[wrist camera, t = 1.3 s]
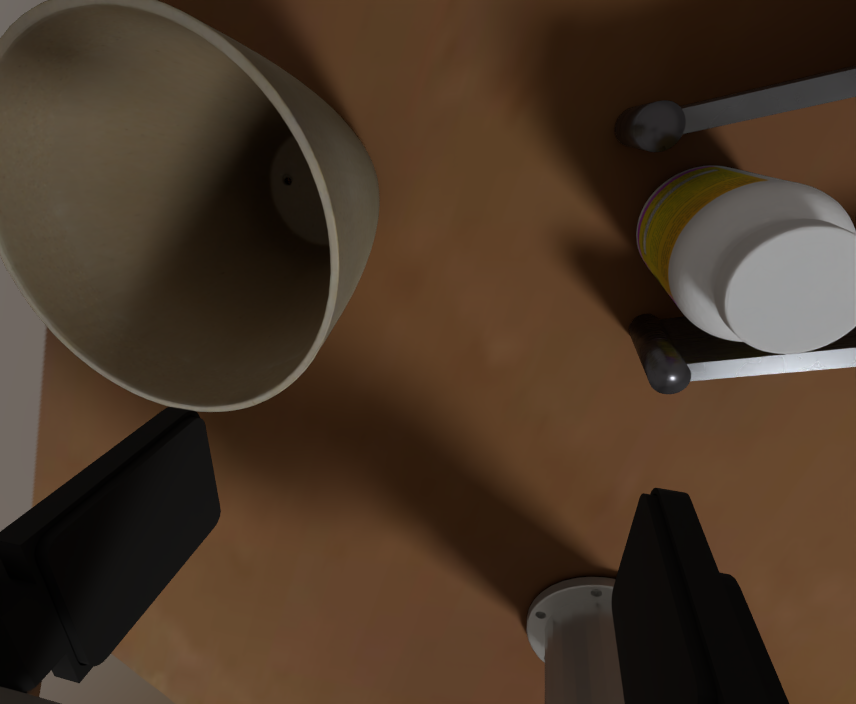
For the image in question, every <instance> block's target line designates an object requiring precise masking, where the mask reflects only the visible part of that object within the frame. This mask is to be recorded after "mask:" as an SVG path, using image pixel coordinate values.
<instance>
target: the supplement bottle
mask: <svg viewBox="0 0 856 704" xmlns="http://www.w3.org/2000/svg"><path fill="white" fill-rule="evenodd" d="M636 239H637V246H638V250H639V253H640V255H641V257H642V259H643V261H644V262H645V264H646V266H647V267H648V268H649V270H650V271H651V272H652V273H653V275H654V276H655V277H656V279H657V280H658V281H659V283H660V284H661V285H662V287H663V288H664V289H665V290H666V292H667V293H668V294H669V296H670V297H671V298H672V300H673V301H674V302H675V304H676V305H677V306H678V308H679V309H680V310H681V312H682V313H683V314H684V315H685V316H686V317H687V318H688V320H690V321H691V322H692V323H693V324H694V325H696V326H697V327H698V328H700V329H702V330H703V331H705V332H707V333H709V334H711V335H713V336H716V337H719V338H722V339H726V340H731V341H739V342H745V343H746V344H748V345H750V346H752V347H754V348H756V349H759V350H762V351H766V352H771V353H777V354H793V353H802V352H807V351H811V350H814V349H818V348H821V347H823V346H826V345H828V344H830V343H832V342H834V341H836V340H838V339H839V338H841V337H842V336H844V335H846V334H847V333H848V332H849V331H851V330H852V329H853V328H854V327H855V326H856V230H855V228H854V225H853V223H852V221H851V219H850V217H849V215H848V214H847V212H846V211H845V210H844V208H843V207H842V206H841V205H840V204H839V203H838V202H837V201H836V200H834V199H833V198H832V197H830V196H829V195H827V194H826V193H824V192H822V191H820V190H818V189H816V188H814V187H811V186H808V185H804V184H800V183H795V182H791V181H786V180H781V179H777V178H772V177H768V176H764V175H759V174H755V173H751V172H747V171H743V170H738V169H734V168H729V167H724V166H701V167H695V168H692V169H688V170H686V171H683V172H681V173H678V174H676V175H675V176H673V177H671V178H670V179H668V180H667V181H665V182H664V183H663V184H662V185H661V186H659V187H658V188H657V189H656V190H655V191H654V192H653V194H652V195H651V196H650V197H649V199H648V200H647V202H646V203H645V205H644V207H643V209H642V211H641V214H640V216H639V219H638V224H637V230H636Z"/></svg>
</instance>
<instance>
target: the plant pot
mask: <svg viewBox="0 0 856 704" xmlns="http://www.w3.org/2000/svg"><path fill="white" fill-rule="evenodd" d="M286 177H289V178H290V179H291V181H292V182H291V184H289V185H288V184H287V183H285V181H284V180H285V178H286ZM378 216H379V186H378V180H377V175H376V172H375V169H374V166H373V163H372V161H371V159H370V157H369V155H368V153H367V151H366V149H365V148H364V146H363V144H362V143H361V141H360V140H359V138H358V137H357V136H356V134H355V133H354V132H353V130H352V129H351V128H350V127H349V126H348V124H347V123H346V122H345V121H344V120H343V119H342V118H341V117H340V116H339V115H338V114H337V113H336V111H335V110H334V109H333V108H332V107H330V106H329V105H328V104H327V103H326V102H325V101H324V100H323V99H322V98H320V97H319V96H318V95H317V94H316V93H314V92H313V91H312V90H311V89H309V88H308V87H307V86H305V85H304V84H303V83H302V82H300V81H299V80H298V79H296V78H295V77H293V76H292V75H290V74H289V73H287V72H286V71H285V70H283V69H282V68H280V67H279V66H277V65H276V64H274V63H273V62H271V61H269V60H268V59H266V58H265V57H263V56H261V55H260V54H258V53H256V52H254V51H253V50H251V49H249V48H248V47H246V46H244V45H242V44H241V43H239V42H237V41H236V40H234V39H232V38H230V37H229V36H227V35H225V34H223V33H221V32H219V31H218V30H216V29H214V28H212V27H210V26H209V25H207V24H205V23H203V22H201V21H199V20H198V19H196V18H194V17H192V16H190V15H188V14H187V13H185V12H183V11H181V10H179V9H176V8H174V7H172V6H170V5H168V4H166V3H163V2H160V1H158V0H48V1H45V2H43V3H41V4H39V5H37V6H36V7H34V8H32V9H31V10H29V11H28V12H26V13H25V14H23V15H22V16H21V17H20V18H19V19H18V20H16V21H15V22H14V23H13V24H12V25H11V26H10V27H9V28H8V30H7V31H6V32H5V33H4V35H3V36H2V37H1V38H0V256H1V259H2V261H3V263H4V265H5V267H6V269H7V271H8V272H9V274H10V276H11V277H12V279H13V281H14V282H15V284H16V285H17V287H18V289H19V290H20V292H21V294H22V295H23V297H24V298H25V299H26V301H27V302H28V304H29V305H30V306H31V307H32V309H33V310H34V312H35V313H36V314H37V315H38V316H39V318H40V319H41V320H42V321H43V323H44V324H45V325H46V326H47V327H48V328H49V329H50V331H51V332H52V333H53V334H54V335H55V336H56V337H57V338H58V339H59V340H60V341H61V342H62V343H63V344H64V345H65V346H66V347H67V348H68V349H70V350H71V351H72V352H73V353H74V354H75V355H76V356H77V357H79V358H80V359H81V360H82V361H84V362H85V363H86V364H87V365H89V366H90V367H91V368H93V369H94V370H95V371H97V372H98V373H100V374H101V375H103V376H104V377H106V378H107V379H109V380H110V381H112V382H114V383H115V384H117V385H119V386H121V387H122V388H124V389H126V390H128V391H130V392H132V393H134V394H136V395H138V396H141V397H143V398H145V399H148V400H151V401H154V402H156V403H159V404H162V405H165V406H170V407H176V408H182V409H188V410H193V411H201V412H222V411H232V410H238V409H243V408H247V407H250V406H254V405H257V404H259V403H261V402H263V401H266V400H268V399H270V398H271V397H273V396H275V395H277V394H278V393H280V392H282V391H283V390H284V389H286V388H287V387H288V386H289V385H291V384H292V383H293V382H294V381H295V380H296V379H297V378H298V377H299V376H300V375H301V374H302V373H303V372H304V371H305V370H306V369H307V367H308V366H309V365H310V363H311V362H312V361H313V359H314V358H315V356H316V354H317V353H318V351H319V349H320V348H321V346H322V345H323V343H324V342H325V340H326V338H327V337H328V335H329V334H330V332H331V330H332V329H333V327H334V325H335V324H336V322H337V321H338V319H339V317H340V316H341V314H342V312H343V311H344V309H345V307H346V305H347V303H348V302H349V300H350V298H351V296H352V294H353V292H354V290H355V288H356V286H357V284H358V282H359V280H360V277H361V275H362V273H363V270H364V268H365V265H366V263H367V260H368V257H369V254H370V252H371V248H372V244H373V241H374V237H375V233H376V228H377V223H378Z"/></svg>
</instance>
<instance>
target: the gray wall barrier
mask: <svg viewBox="0 0 856 704" xmlns="http://www.w3.org/2000/svg"><path fill="white" fill-rule="evenodd" d="M851 97H856V66H852V67H847V68H843V69H839V70H834V71H830V72H826V73H821V74H817V75H813V76H808V77H804V78H800V79H796V80H791V81H787V82H783V83H778V84H774V85H770V86H765V87H761V88H757V89H752V90H748V91H744V92H739V93H735V94H731V95H727V96H722V97H718V98H714V99H709V100H705V101H701V102H696V103H692V104H688V105H683V106H679V105H678V104H676V103H674V102H672V101H666V100H664V101H657V102H653V103H649V104H644V105H640V106H635V107H632V108H629V109H627V110H625V111H624V112H623V113H622V114H621V115H620V116H619V118H618V119H617V121H616V124H615V135H616V138H617V140H618V141H619V142H620V143H621V144H623V145H625V146H628V147H633V148H637V149H641V150H646V151H650V152H661V151H665V150H667V149H669V148H671V147H672V146H674V145H675V144H676V143H677V142H678V141H679V139H680V138H681V136H682V135H683V134H685V133H690V132H694V131H699V130H704V129H708V128H713V127H717V126H722V125H727V124H731V123H736V122H740V121H745V120H750V119H754V118H759V117H764V116H768V115H773V114H777V113H782V112H787V111H791V110H796V109H800V108H805V107H810V106H814V105H819V104H823V103H828V102H833V101H837V100H842V99H846V98H851ZM629 334H630V336H631V339H632V341H633V344H634V346H635V348H636V351H637V353H638V356H639V358H640V361H641V363H642V366H643V368H644V371H645V373H646V375H647V378H648V380H649V383H650V385H651V386H652V388H653V389H654V390H656V391H657V392H659V393H662V394H674V393H677V392H680V391H682V390H683V389H684V388H686V387H687V385H688V384H689V382H690V381H697V380H708V379H720V378H731V377H743V376H754V375H765V374H777V373H788V372H799V371H811V370H822V369H833V368H845V367H856V326H855V327H854V328H853V329H852V330H851V331H849V332H848V333H847V334H846V335H844V336H842V337H841V338H839V339H838V340H836V341H834V342H832V343H830V344H828V345H826V346H823V347H821V348H818V349H814V350H811V351H807V352H802V353H793V354H777V353H771V352H766V351H762V350H759V349H756V348H754V347H752V346H750V345H748V344H746V343H745V342H739V341H731V340H726V339H722V338H719V337H716V336H713V335H711V334H709V333H707V332H705V331H703V330H702V329H700V328H698V327H697V326H696V325H694V324H693V323H692V322H691V321H690V320H688V318H687V317H678V318H670V319H662V320H660V319H659V318H658V317H656V316H654V315H652V314H643V315H640V316H638V317H636V318H635V319H634V320H633V321H632V322H631V324H630V326H629Z"/></svg>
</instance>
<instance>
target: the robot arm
mask: <svg viewBox="0 0 856 704" xmlns="http://www.w3.org/2000/svg"><path fill="white" fill-rule="evenodd" d="M220 512H221V511H220V503H219V498H218V492H217V487H216V481H215V476H214V470H213V465H212V459H211V454H210V448H209V443H208V437H207V432H206V426H205V422H204V421H203V419H201V418H200V417H199V414H198V413H197V412H196V411H193V410H188V409H182V408H176V407H168V408H166V409H164V410H163V411H161V412H160V413H159V414H157V415H156V416H155V417H153V418H152V419H151V420H149V421H148V422H147V423H145V424H144V425H143V426H141V427H140V428H139V429H137V430H136V431H135V432H133V433H132V434H131V435H129V436H128V437H127V438H125V439H124V440H122V441H121V442H120V443H118V444H117V445H116V446H114V447H113V448H112V449H110V450H109V451H108V452H106V453H105V454H104V455H102V456H101V457H100V458H98V459H97V460H96V461H94V462H93V463H92V464H90V465H89V466H88V467H86V468H85V469H84V470H82V471H81V472H80V473H78V474H77V475H76V476H74V477H73V478H72V479H70V480H69V481H68V482H66V483H65V484H64V485H62V486H61V487H60V488H58V489H57V490H56V491H54V492H53V493H52V494H50V495H49V496H48V497H46V498H45V499H44V500H42V501H41V502H40V503H38V504H37V505H36V506H34V507H33V508H31V509H30V510H29V511H27V512H26V513H25V514H23V515H22V516H21V517H20V518H18V519H17V520H15V521H14V522H13V523H11V524H10V525H9V526H7V527H6V528H5V529H4V530H2V531H1V532H0V704H60V703H57V702H54V701H50V700H47V699H43V698H40V697H39V694H40V688H41V682H42V680H43V678H45V676H46V675H47V674H48V673H49V672H50V671H51V670H52V672H53V674H54V676H56V677H60V678H63V679H66V680H70V681H74V682H77V683H80V682H81V681H82V679H83V678H84V677H85V676H86V675H87V673H88V672H89V671H90V670H91V669H92V667H93V666H97V665H99V664H101V663H102V662H103V661H104V660H105V659H106V658H107V657H108V656H109V655H110V654H111V652H112V651H113V650H114V649H115V648H116V646H117V645H118V644H119V643H120V642H121V640H122V639H123V638H124V637H125V635H126V634H127V633H128V632H129V631H130V629H131V628H132V627H133V626H134V624H135V623H136V622H137V621H138V620H139V618H140V617H141V616H142V615H143V614H144V612H145V611H146V610H147V609H148V607H149V606H150V605H151V604H152V603H153V601H154V600H155V599H156V598H157V596H158V595H159V594H160V593H161V592H162V590H163V589H164V588H165V587H166V585H167V584H168V583H169V582H170V581H171V579H172V578H173V577H174V576H175V575H176V573H177V572H178V571H179V570H180V568H181V567H182V566H183V565H184V564H185V562H186V561H187V560H188V559H189V557H190V556H191V555H192V554H193V553H194V551H195V550H196V549H197V548H198V547H199V545H200V544H201V543H202V542H203V540H204V539H205V538H206V537H207V536H208V534H209V533H210V532H211V531H212V529H213V528H214V527H215V526H216V524H217V522H218V520H219V517H220ZM527 635H528V640H529V642H530V644H531V647H532V649H533V650H534V651H535V653H536V654H537V655H538V657H539V658H540V659H541V660H542V661H543V662H544V663H545V704H789V702H788V700H787V697H786V695H785V693H784V690H783V688H782V685H781V683H780V681H779V678H778V676H777V674H776V671H775V669H774V666H773V664H772V662H771V659H770V657H769V655H768V652H767V650H766V648H765V645H764V643H763V640H762V638H761V636H760V633H759V631H758V629H757V626H756V624H755V622H754V619H753V617H752V614H751V612H750V610H749V607H748V605H747V603H746V600H745V598H744V596H743V593H742V591H741V588H740V586H739V585H738V583H737V581H736V579H735V578H734V577H732V576H731V575H729V574H724V573H719V571H718V568H717V566H716V563H715V560H714V558H713V555H712V553H711V550H710V548H709V545H708V542H707V540H706V537H705V535H704V532H703V530H702V527H701V524H700V522H699V519H698V517H697V514H696V512H695V509H694V507H693V504H692V501H691V499H690V497H689V495H688V494H687V493H684V492H678V491H672V490H666V489H660V488H654V489H653V490H652V491H651V494H642V495H641V496H640V499H639V502H638V506H637V509H636V512H635V516H634V519H633V522H632V526H631V529H630V533H629V536H628V539H627V543H626V546H625V550H624V553H623V556H622V560H621V563H620V567H619V570H618V573H617V577H616V579H612V578H606V577H581V578H574V579H570V580H565V581H562V582H559V583H557V584H555V585H552V586H550V587H549V588H547V589H546V590H544V591H543V592H541V593H540V594H539V595H538V596H537V597H536V598H535V599H534V600H533V602H532V604H531V606H530V608H529V611H528V615H527Z"/></svg>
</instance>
